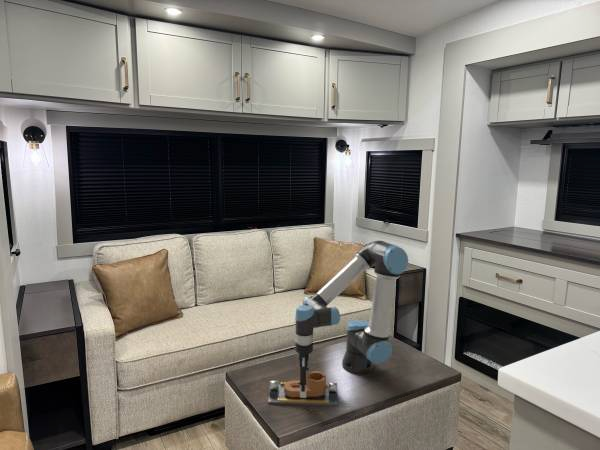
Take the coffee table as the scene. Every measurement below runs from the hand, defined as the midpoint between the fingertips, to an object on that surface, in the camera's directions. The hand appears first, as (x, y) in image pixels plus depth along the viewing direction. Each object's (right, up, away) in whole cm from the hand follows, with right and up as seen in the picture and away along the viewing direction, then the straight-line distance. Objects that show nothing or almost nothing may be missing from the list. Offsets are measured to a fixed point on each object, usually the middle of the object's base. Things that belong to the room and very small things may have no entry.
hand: (303, 390), depth 177 cm
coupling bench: (0, -2, 0) cm, 2 cm away
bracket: (+1, -1, 0) cm, 1 cm away
